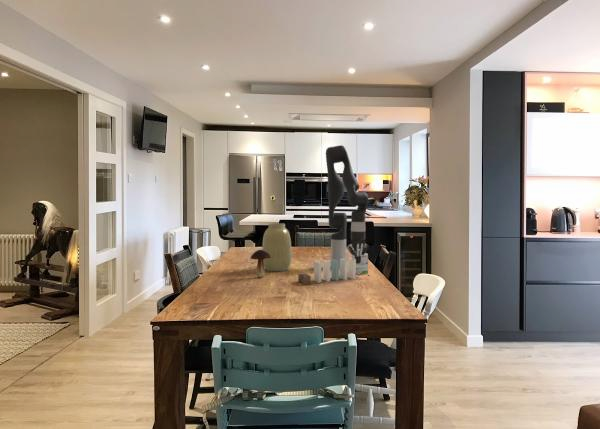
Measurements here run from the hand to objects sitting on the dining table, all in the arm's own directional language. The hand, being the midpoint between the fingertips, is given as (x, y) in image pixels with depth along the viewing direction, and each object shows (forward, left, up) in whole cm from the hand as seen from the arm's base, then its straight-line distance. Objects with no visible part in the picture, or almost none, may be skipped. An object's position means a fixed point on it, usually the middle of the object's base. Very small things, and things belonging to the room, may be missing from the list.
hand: (357, 263), depth 233 cm
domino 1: (0, -24, -8) cm, 25 cm away
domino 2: (0, -19, -8) cm, 20 cm away
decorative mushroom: (-26, -45, -9) cm, 52 cm away
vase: (-45, -28, -9) cm, 54 cm away
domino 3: (0, -14, -8) cm, 16 cm away
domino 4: (0, -9, -8) cm, 11 cm away
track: (0, -17, -8) cm, 19 cm away
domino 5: (0, -4, -8) cm, 8 cm away
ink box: (-11, +8, -9) cm, 16 cm away
